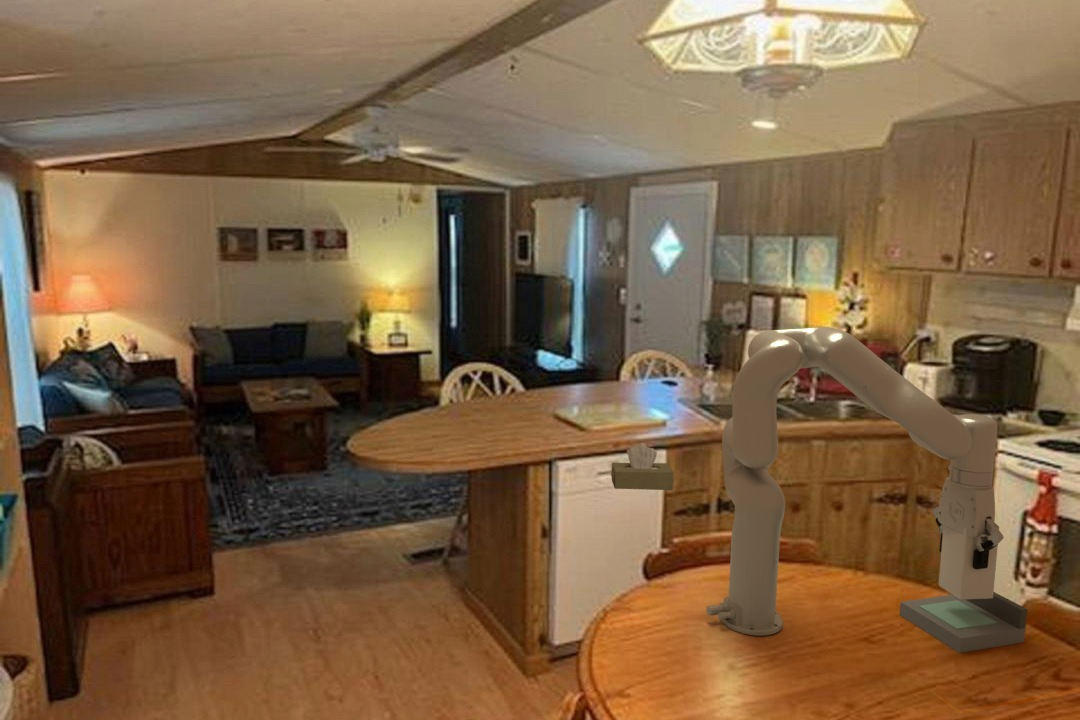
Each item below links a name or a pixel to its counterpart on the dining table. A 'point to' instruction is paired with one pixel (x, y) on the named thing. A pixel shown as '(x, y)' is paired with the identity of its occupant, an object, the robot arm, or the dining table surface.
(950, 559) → the milk carton
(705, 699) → the dining table surface
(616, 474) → the tissue box
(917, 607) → the plate
